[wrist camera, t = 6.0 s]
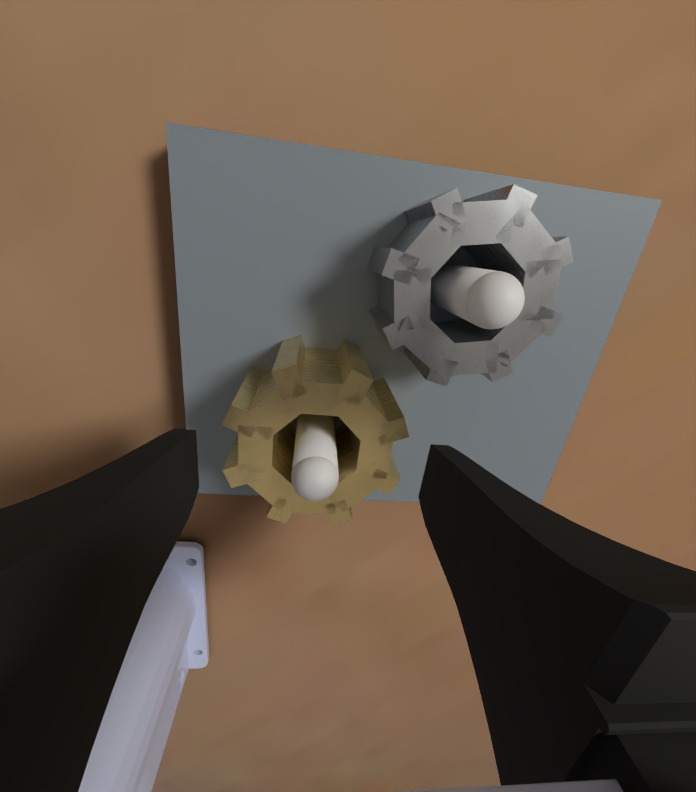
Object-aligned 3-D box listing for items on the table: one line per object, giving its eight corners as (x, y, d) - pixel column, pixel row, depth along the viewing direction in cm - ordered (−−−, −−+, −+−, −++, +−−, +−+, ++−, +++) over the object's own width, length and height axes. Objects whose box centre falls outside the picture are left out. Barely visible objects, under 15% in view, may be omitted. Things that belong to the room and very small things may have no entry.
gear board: (522, 487, 18) (615, 596, 13) (200, 472, 16) (139, 592, 11) (626, 205, 13) (855, 175, 8) (183, 136, 12) (53, 31, 6)
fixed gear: (505, 350, 14) (552, 377, 11) (370, 361, 13) (383, 391, 11) (524, 195, 12) (588, 179, 9) (364, 204, 11) (379, 191, 9)
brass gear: (375, 468, 15) (390, 527, 12) (244, 461, 15) (223, 521, 11) (396, 343, 13) (421, 375, 10) (244, 329, 13) (219, 357, 9)
